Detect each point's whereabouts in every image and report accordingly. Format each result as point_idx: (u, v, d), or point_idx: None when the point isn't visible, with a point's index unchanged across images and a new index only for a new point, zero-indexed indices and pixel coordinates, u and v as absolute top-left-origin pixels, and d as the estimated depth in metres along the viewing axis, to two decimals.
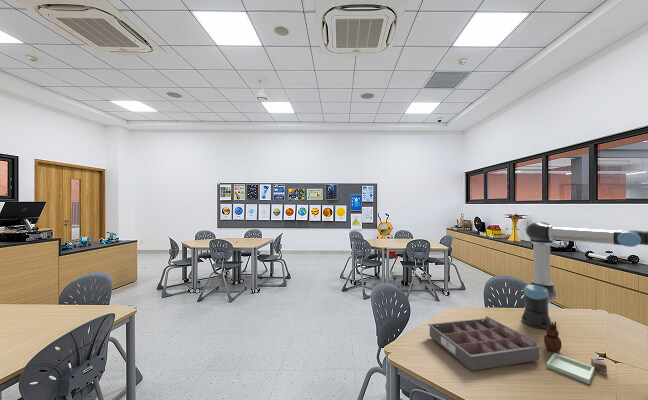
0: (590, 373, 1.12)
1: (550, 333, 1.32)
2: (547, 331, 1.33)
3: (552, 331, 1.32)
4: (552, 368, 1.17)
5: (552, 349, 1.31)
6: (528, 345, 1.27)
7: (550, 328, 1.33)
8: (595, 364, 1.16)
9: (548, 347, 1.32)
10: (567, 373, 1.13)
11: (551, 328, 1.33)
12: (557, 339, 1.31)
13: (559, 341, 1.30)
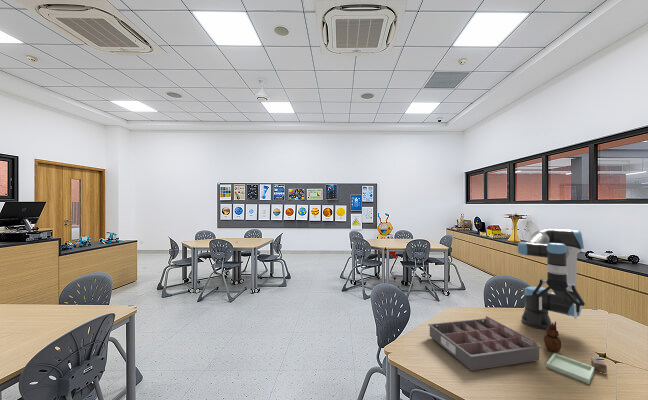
0: (590, 373, 1.12)
1: (550, 333, 1.32)
2: (547, 331, 1.33)
3: (552, 331, 1.32)
4: (552, 368, 1.17)
5: (552, 349, 1.31)
6: (528, 345, 1.27)
7: (550, 328, 1.33)
8: (595, 364, 1.16)
9: (548, 347, 1.32)
10: (567, 373, 1.13)
11: (551, 328, 1.33)
12: (557, 339, 1.31)
13: (559, 341, 1.30)
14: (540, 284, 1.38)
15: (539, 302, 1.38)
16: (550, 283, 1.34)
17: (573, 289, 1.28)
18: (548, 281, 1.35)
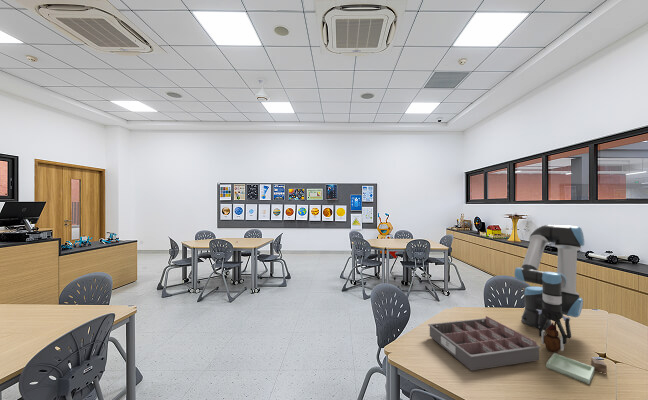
0: (590, 373, 1.12)
1: (550, 333, 1.32)
2: (547, 331, 1.33)
3: (552, 331, 1.32)
4: (552, 368, 1.17)
5: (552, 349, 1.31)
6: (528, 345, 1.27)
7: (550, 328, 1.33)
8: (595, 364, 1.16)
9: (548, 347, 1.32)
10: (567, 373, 1.13)
11: (551, 328, 1.33)
12: (557, 339, 1.31)
13: (559, 341, 1.30)
14: (537, 315, 1.37)
15: (541, 336, 1.35)
16: (545, 312, 1.35)
17: (566, 322, 1.28)
18: (543, 310, 1.35)
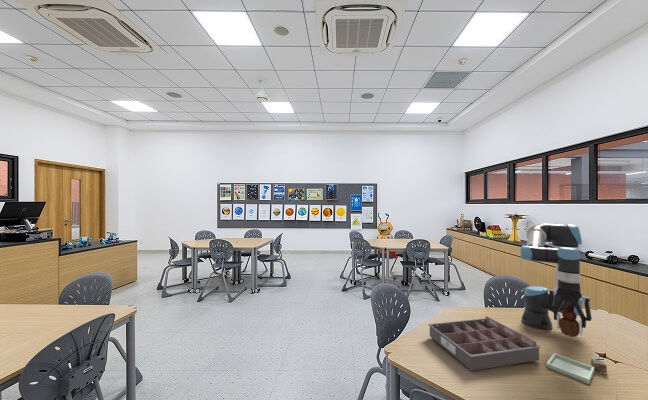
0: (590, 373, 1.12)
1: (567, 315, 1.17)
2: (563, 313, 1.18)
3: (569, 313, 1.16)
4: (552, 368, 1.17)
5: (569, 333, 1.16)
6: (528, 345, 1.27)
7: (567, 310, 1.18)
8: (595, 364, 1.16)
9: (565, 331, 1.17)
10: (567, 373, 1.13)
11: (568, 310, 1.18)
12: (575, 322, 1.16)
13: (577, 324, 1.15)
14: (552, 296, 1.22)
15: (557, 319, 1.20)
16: (561, 292, 1.19)
17: (586, 302, 1.13)
18: (558, 290, 1.20)
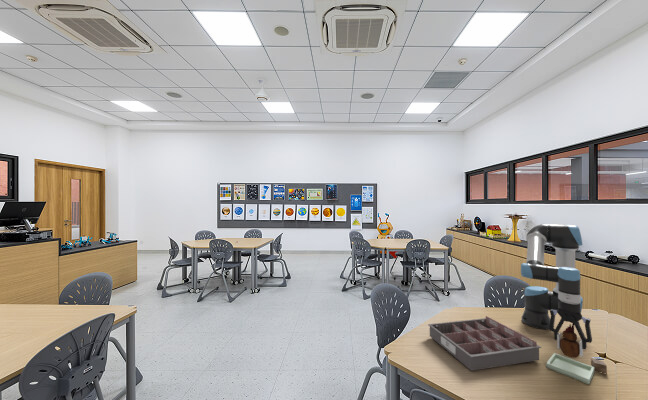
0: (590, 373, 1.12)
1: (568, 336, 1.16)
2: (564, 334, 1.18)
3: (570, 334, 1.16)
4: (552, 368, 1.17)
5: (570, 354, 1.15)
6: (528, 345, 1.27)
7: (567, 331, 1.17)
8: (595, 364, 1.16)
9: (565, 352, 1.17)
10: (567, 373, 1.13)
11: (568, 331, 1.17)
12: (575, 343, 1.15)
13: (578, 345, 1.15)
14: (552, 316, 1.22)
15: (557, 340, 1.20)
16: (561, 312, 1.19)
17: (586, 324, 1.12)
18: (558, 310, 1.20)
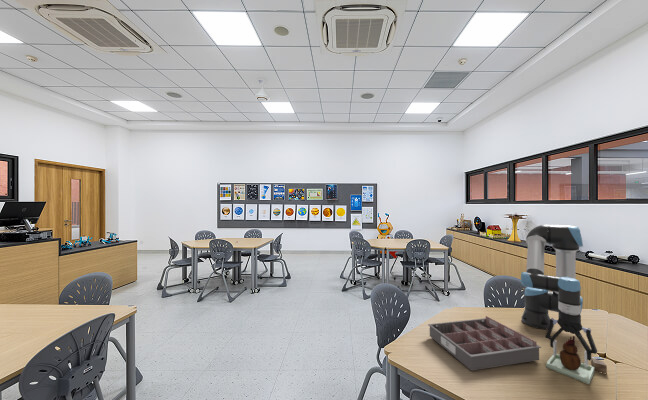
0: (590, 373, 1.12)
1: (568, 349, 1.16)
2: (564, 347, 1.17)
3: (570, 347, 1.16)
4: (552, 368, 1.17)
5: (570, 367, 1.15)
6: (528, 345, 1.27)
7: (568, 343, 1.17)
8: (595, 364, 1.16)
9: (565, 365, 1.17)
10: (567, 373, 1.13)
11: (569, 343, 1.17)
12: (576, 356, 1.15)
13: (578, 358, 1.15)
14: (551, 325, 1.22)
15: (553, 347, 1.21)
16: (562, 323, 1.19)
17: (587, 334, 1.12)
18: (559, 321, 1.20)
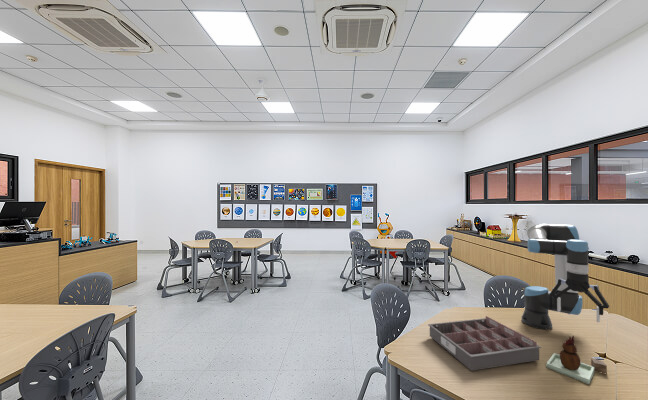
0: (590, 373, 1.12)
1: (568, 348, 1.16)
2: (564, 346, 1.18)
3: (570, 346, 1.16)
4: (552, 368, 1.17)
5: (570, 367, 1.16)
6: (528, 345, 1.27)
7: (567, 343, 1.17)
8: (595, 364, 1.16)
9: (565, 364, 1.17)
10: (567, 373, 1.13)
11: (568, 343, 1.17)
12: (575, 356, 1.15)
13: (578, 358, 1.15)
14: (558, 284, 1.27)
15: (557, 303, 1.27)
16: (570, 283, 1.24)
17: (596, 290, 1.17)
18: (567, 281, 1.25)
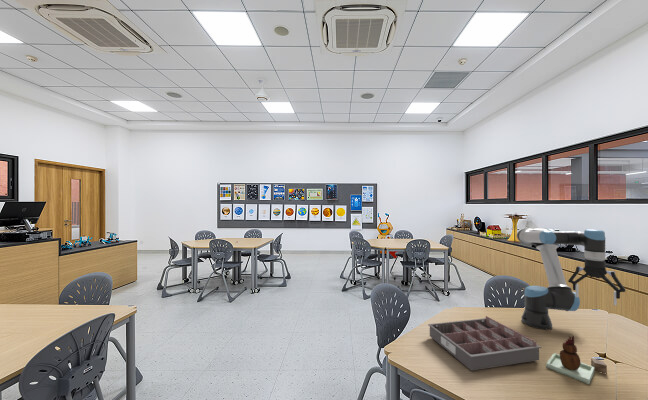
0: (590, 373, 1.12)
1: (568, 348, 1.16)
2: (564, 346, 1.18)
3: (570, 346, 1.16)
4: (552, 368, 1.17)
5: (570, 367, 1.16)
6: (528, 345, 1.27)
7: (567, 343, 1.17)
8: (595, 364, 1.16)
9: (565, 364, 1.17)
10: (567, 373, 1.13)
11: (568, 343, 1.17)
12: (575, 356, 1.15)
13: (578, 358, 1.15)
14: (577, 271, 1.37)
15: (576, 289, 1.37)
16: (587, 270, 1.33)
17: (613, 275, 1.26)
18: (585, 268, 1.34)
